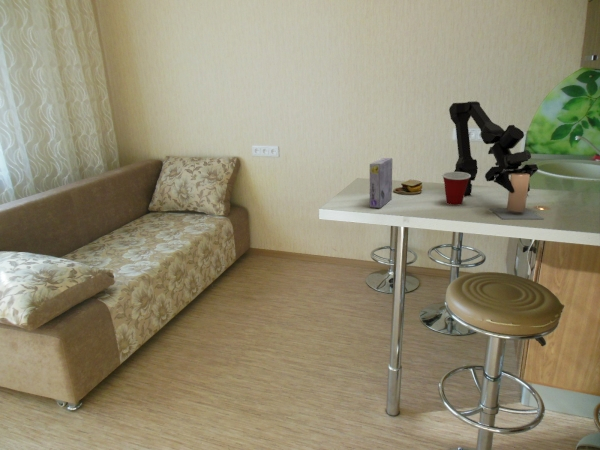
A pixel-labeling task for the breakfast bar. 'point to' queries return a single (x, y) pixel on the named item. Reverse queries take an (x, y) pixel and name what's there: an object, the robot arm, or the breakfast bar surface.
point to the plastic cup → (455, 186)
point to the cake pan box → (380, 182)
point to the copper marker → (542, 207)
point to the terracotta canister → (518, 192)
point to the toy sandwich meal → (409, 187)
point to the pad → (516, 214)
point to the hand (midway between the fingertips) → (520, 191)
